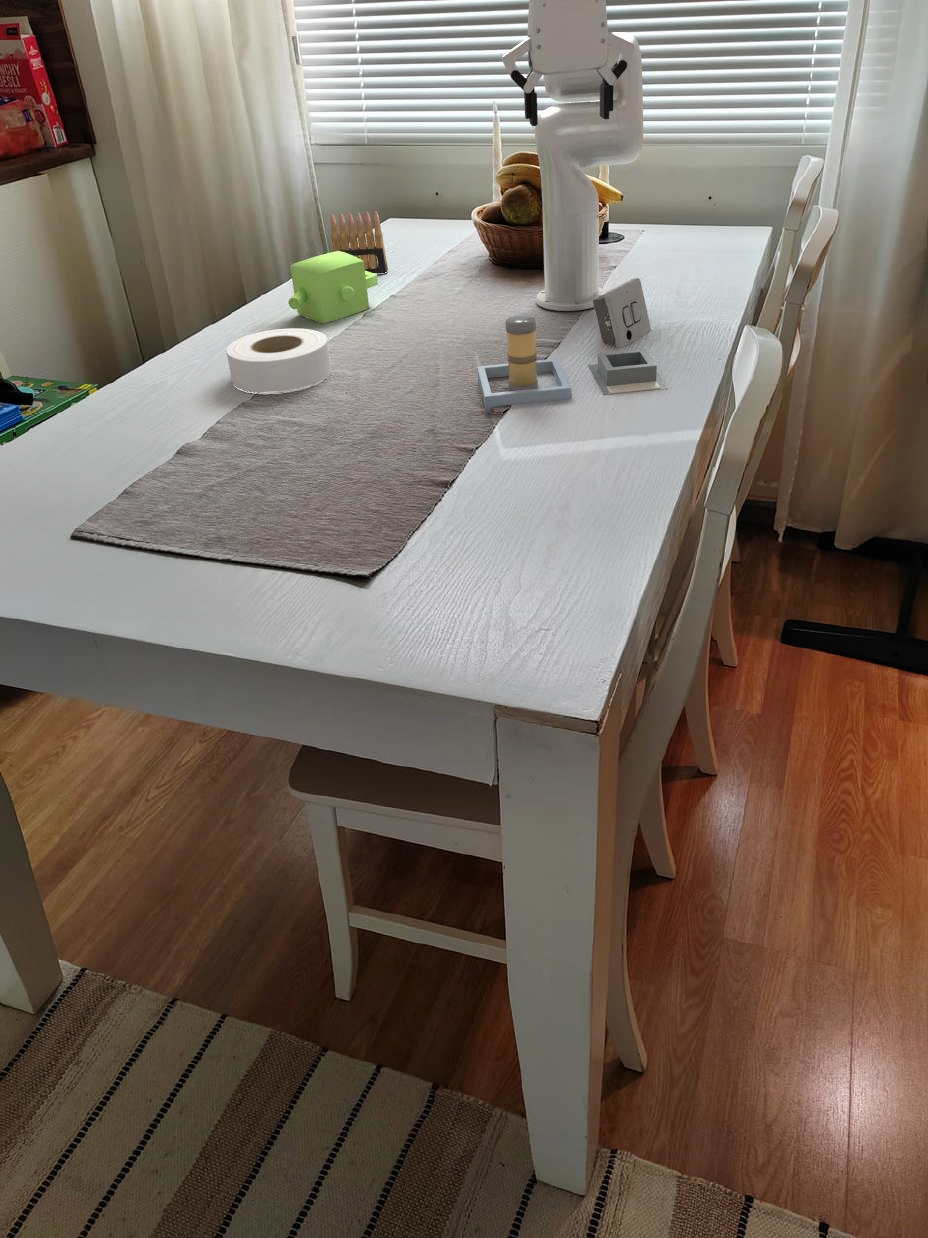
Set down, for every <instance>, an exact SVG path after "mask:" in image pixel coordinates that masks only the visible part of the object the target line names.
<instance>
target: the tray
mask: <svg viewBox="0 0 928 1238" xmlns="http://www.w3.org/2000/svg"><path fill="white" fill-rule="evenodd" d="M536 362H537V374H539V373H550V372H552V374H553V376H554V379H555V382H556V383H557V385H558V386H550V387H549V386H548V387H538V388H537V389H528V390H518V391H510V390H509V391H499V392H492V391H491V386H490V383H489V380H488V379H491V378H500V377H509V368H508V362H506V363H498V364H488V365H478V366H476V369H477V371H476V372H477V379H478V380H477V381H478V386H479V391H480V394H481V395H480V396H481V399H482V403H483V407H484V411H485V414H486V413H487V414H495V410H494V407H500V406H501V407H503V406H510V405H521V404H522V405H523V404H532V403H539V402H540V403H541V402H542V403H543V402H550V401H559V400H569V399H570V400H571V399H572V386H571V384H570V383H569V380H568V377H567V375H566V374H565V371H564V369H563V367H562V365H561V363H560V362H561V361H560V360H559V358H558V357H557V358H547V359H538V360H537V359H536Z"/></svg>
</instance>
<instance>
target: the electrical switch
mask: <svg viewBox="0 0 928 1238" xmlns="http://www.w3.org/2000/svg"><path fill="white" fill-rule="evenodd" d="M593 304H594V307H593V309H594V313H595V316H596V319H597V325H598V329H599V332H600V333H599V334H600V337H601V341H602V343H604V344H610V345H614V346H615V347H616V348H621V349H622V348H624V347H626V346H628V345H630V344H631V343H633V342H634V341H636V340H638V339H639V338H641V337H643V336H644V335H646V334H648V333H649V332H651V331H652V327H651V322H650V318H649V313H648V309H647V304H646V300H645V295H644V290H643V286H642V281H641V279H640V278H639V277H634V278H632V279H629V280H628V281H626V282H623V283H622V284H620V285H618V286H615V287H614V288H612V289H609V290H608V291H607V292H606V293H605V294H604V295H602V296H600V297H598V298H596V299H594V300H593Z"/></svg>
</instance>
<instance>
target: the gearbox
mask: <svg viewBox="0 0 928 1238" xmlns="http://www.w3.org/2000/svg"><path fill="white" fill-rule="evenodd" d="M289 268H290V274H291V280H292V288H293V295H292V296H291V297H290V298H289V300H288V306H289V308H291V309H292V310H296V311H297V314H299V315H300V316H301V315H302V316H301V317H303V316H305V317H304V318H306V317H308V318H310V319H309V320H311V319H313V320H312V321H314V320H316V321H315V322H317V321H318V322H317V323H320V322H321V324H326V323H325V322H327V323H329V322H328V321H331V322H333V321H332V320H334V321H336V319H337V320H339V318H340V319H343V318H342V317H344V318H346V316H347V317H349V315H350V316H353V315H355V314H358V313H361V312H363V311H366V310H368V309H370V305H369V304H370V302H369V295H368V293H369V292H368V289H371V288H373V287H375V286H377V285H379V280H378V275H376V274H373V273H371V272H368V271H365V268H364V261H363V260H361V259H359V258H357V257H355V256H352V255H350V254H347V253H345V252H341V251H335V252H333V251H332V252H327V253H324V254H320V255H316V256H313V257H310V258H306V259H303V260H300V261H298V262H294V263H291V264H290V267H289ZM308 318H307V319H308Z"/></svg>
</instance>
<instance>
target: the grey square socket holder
mask: <svg viewBox="0 0 928 1238" xmlns="http://www.w3.org/2000/svg"><path fill="white" fill-rule="evenodd" d="M587 366H588V368H589V370H590V372H591V375H592V376H593V379H594V380H595V381H596V383H597V386H598V388H599V389H600V391H601V393H602V395H603V396H608V395H609V396H610V395H619V394H627V393H629V394H630V393H640V392H647V391H648V392H650V391H659V390H667V389H668V387H667V385H666V384H665V383H664V381H663V380H662V378H661V377H660V375H659V373H658V372H657V366H658V365H657V364H656V362H655V361H654V360H653V358H652V357H651V355H650V353H649V352H648V351H647V350H646V348H642V349H632V350H630V349H629V350H622V351H612V352H599V353H597V363H596V364H587Z"/></svg>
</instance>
